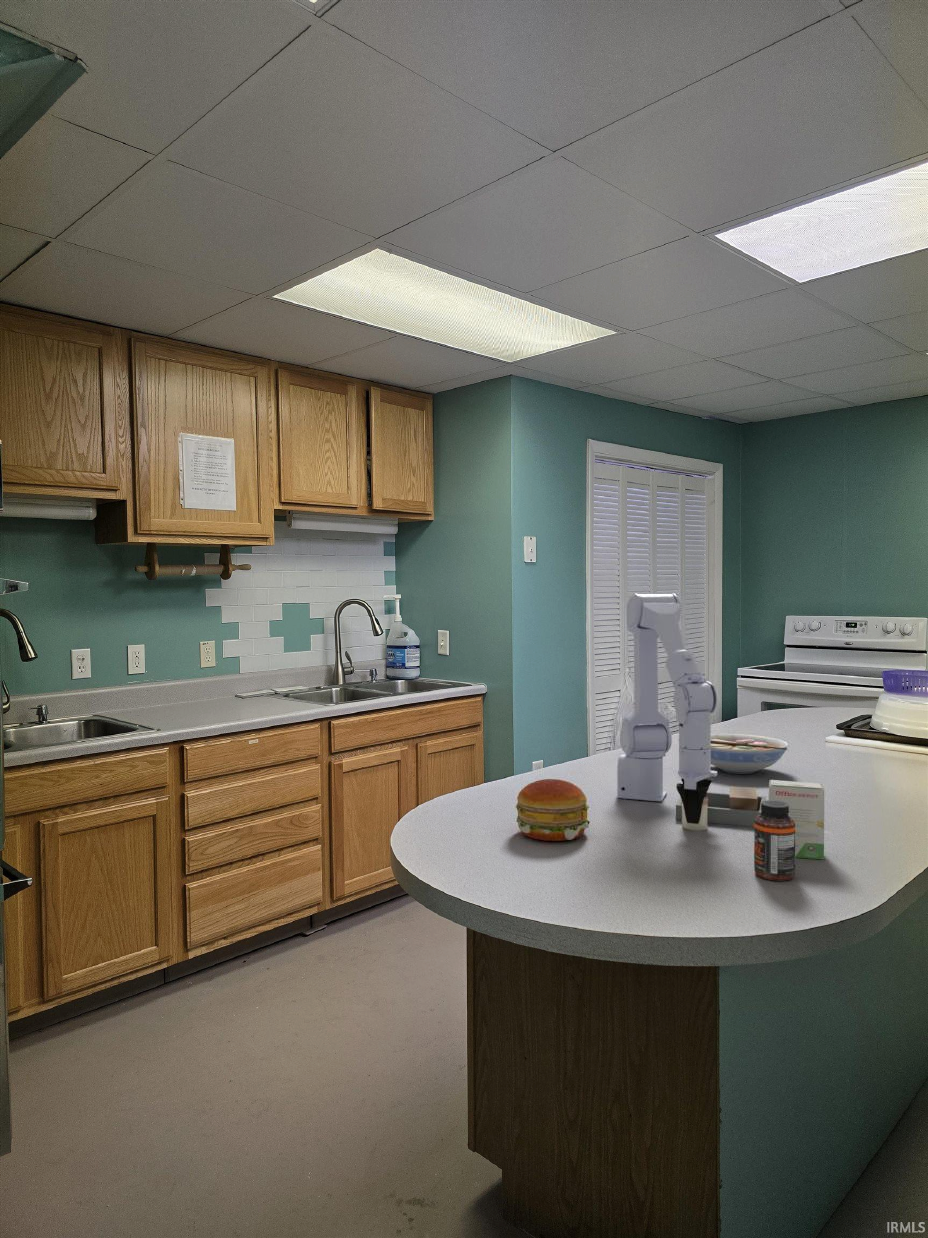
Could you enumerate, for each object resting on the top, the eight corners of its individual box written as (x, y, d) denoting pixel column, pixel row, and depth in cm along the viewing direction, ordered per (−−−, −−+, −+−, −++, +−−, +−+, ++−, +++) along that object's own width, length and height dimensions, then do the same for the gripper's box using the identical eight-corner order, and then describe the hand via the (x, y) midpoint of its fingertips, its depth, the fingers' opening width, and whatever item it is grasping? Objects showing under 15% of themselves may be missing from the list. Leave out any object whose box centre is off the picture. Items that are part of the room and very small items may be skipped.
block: (729, 823, 156) (729, 797, 156) (729, 811, 165) (729, 786, 164) (757, 825, 154) (757, 799, 154) (756, 813, 163) (756, 788, 163)
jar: (679, 829, 152) (679, 799, 151) (683, 822, 156) (683, 793, 156) (706, 831, 150) (706, 802, 150) (709, 825, 154) (709, 796, 154)
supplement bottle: (747, 870, 129) (747, 798, 128) (783, 868, 129) (784, 797, 129) (764, 883, 123) (764, 808, 123) (802, 882, 123) (802, 807, 123)
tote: (675, 819, 158) (675, 805, 158) (684, 803, 170) (684, 790, 170) (763, 827, 152) (763, 812, 152) (766, 810, 164) (766, 796, 164)
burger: (502, 829, 152) (502, 776, 152) (566, 821, 158) (566, 769, 157) (537, 850, 140) (537, 792, 140) (604, 840, 145) (604, 784, 145)
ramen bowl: (801, 768, 204) (801, 735, 204) (782, 786, 185) (782, 750, 185) (701, 758, 217) (701, 727, 217) (674, 774, 198) (674, 740, 198)
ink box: (768, 855, 136) (768, 785, 136) (767, 846, 141) (767, 778, 141) (824, 860, 133) (825, 788, 133) (821, 851, 138) (822, 781, 138)
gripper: (713, 755, 144) (713, 832, 145) (720, 742, 158) (720, 811, 158) (672, 753, 147) (672, 828, 147) (682, 739, 160) (682, 808, 161)
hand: (694, 819), depth 153 cm, fingers closed on jar, 5 cm apart
